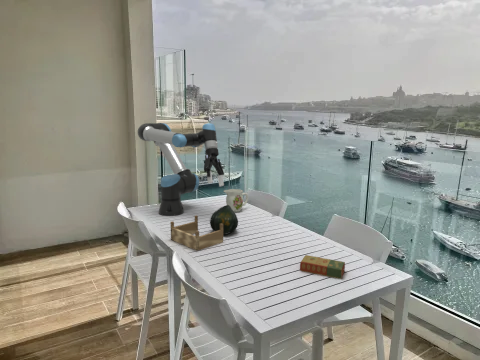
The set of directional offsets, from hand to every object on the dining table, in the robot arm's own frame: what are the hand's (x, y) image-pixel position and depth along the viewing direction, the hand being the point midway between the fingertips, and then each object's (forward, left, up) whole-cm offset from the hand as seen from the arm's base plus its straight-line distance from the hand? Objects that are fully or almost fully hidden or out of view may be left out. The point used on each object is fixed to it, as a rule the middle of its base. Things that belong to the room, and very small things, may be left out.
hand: (216, 184), depth 200 cm
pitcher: (-6, +22, -21) cm, 31 cm away
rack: (+19, -30, -21) cm, 41 cm away
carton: (+80, -16, -22) cm, 84 cm away
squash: (+19, -12, -21) cm, 31 cm away
